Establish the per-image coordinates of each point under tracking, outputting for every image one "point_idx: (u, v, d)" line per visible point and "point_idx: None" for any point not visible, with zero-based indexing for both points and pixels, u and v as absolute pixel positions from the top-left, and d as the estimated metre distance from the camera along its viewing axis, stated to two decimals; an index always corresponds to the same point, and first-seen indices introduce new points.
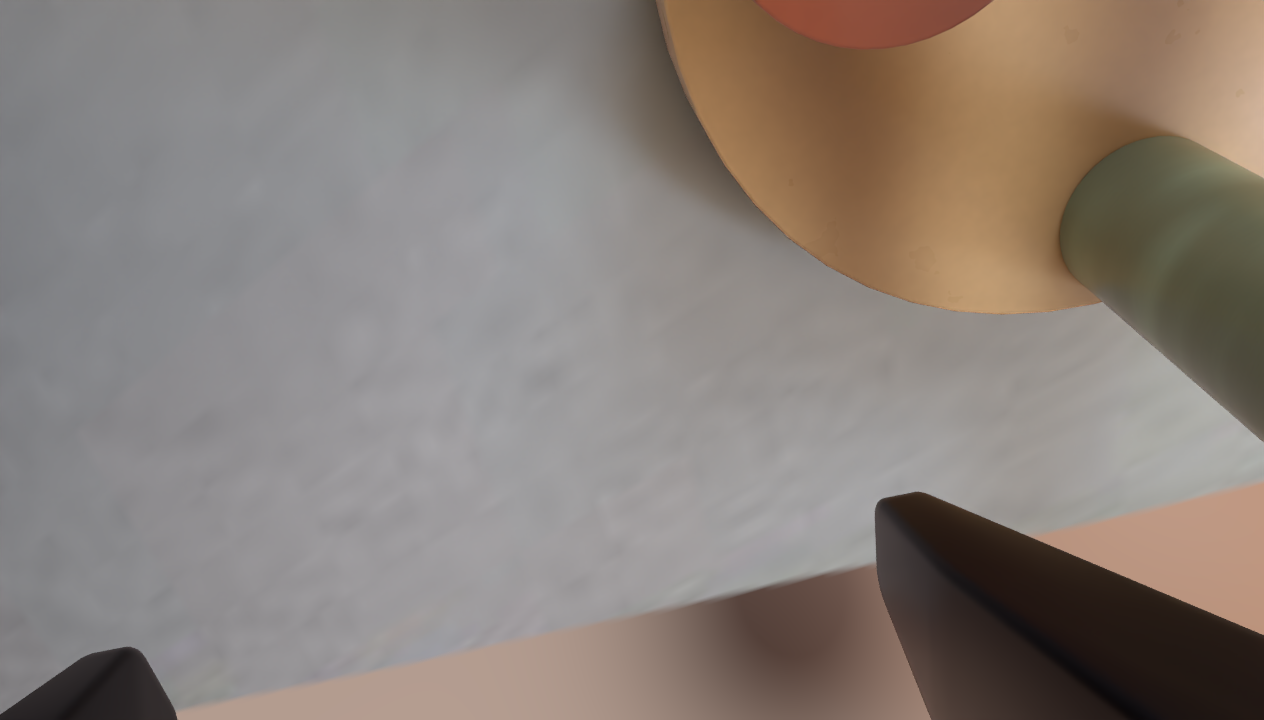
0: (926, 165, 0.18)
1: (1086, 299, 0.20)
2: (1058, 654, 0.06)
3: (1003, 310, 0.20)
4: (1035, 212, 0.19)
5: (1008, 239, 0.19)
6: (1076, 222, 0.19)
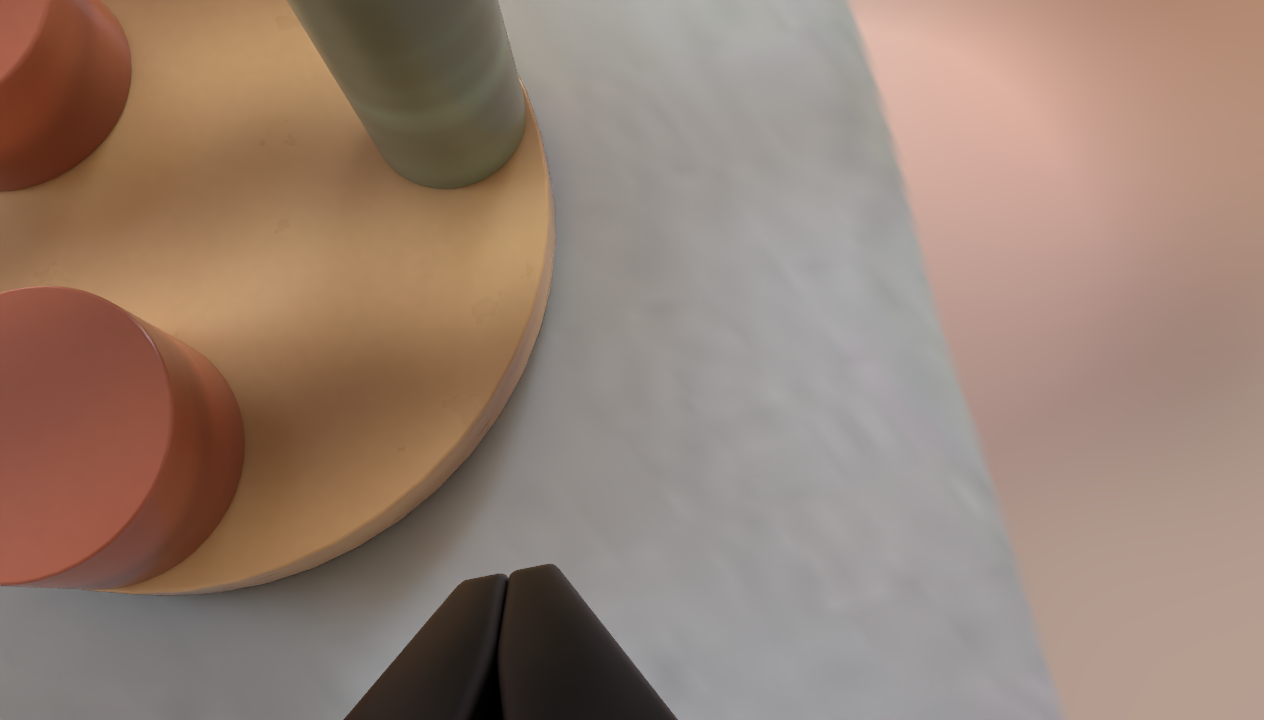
0: (391, 325, 0.20)
1: (534, 142, 0.21)
2: None
3: (543, 219, 0.21)
4: (441, 214, 0.21)
5: (467, 232, 0.20)
6: (436, 179, 0.20)
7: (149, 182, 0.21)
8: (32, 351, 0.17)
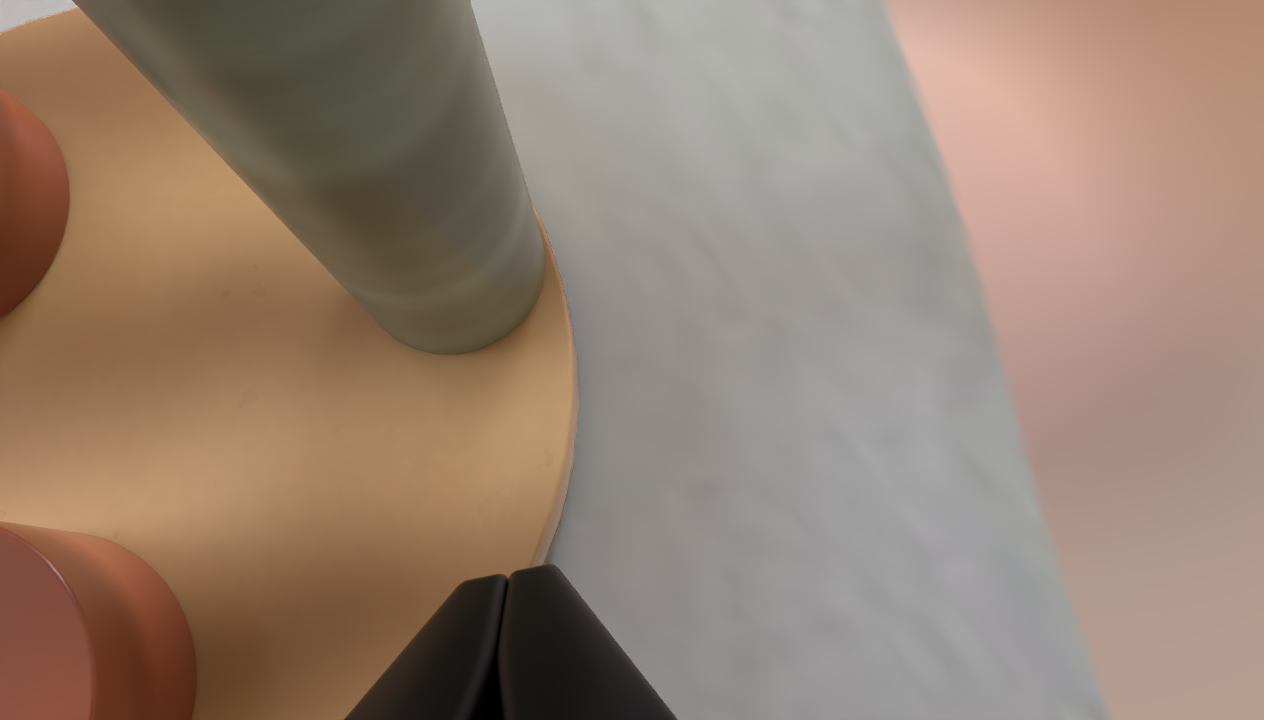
0: (379, 527, 0.16)
1: (555, 296, 0.17)
2: None
3: (566, 393, 0.17)
4: (442, 386, 0.17)
5: (473, 410, 0.17)
6: (436, 346, 0.17)
7: (87, 341, 0.17)
8: None
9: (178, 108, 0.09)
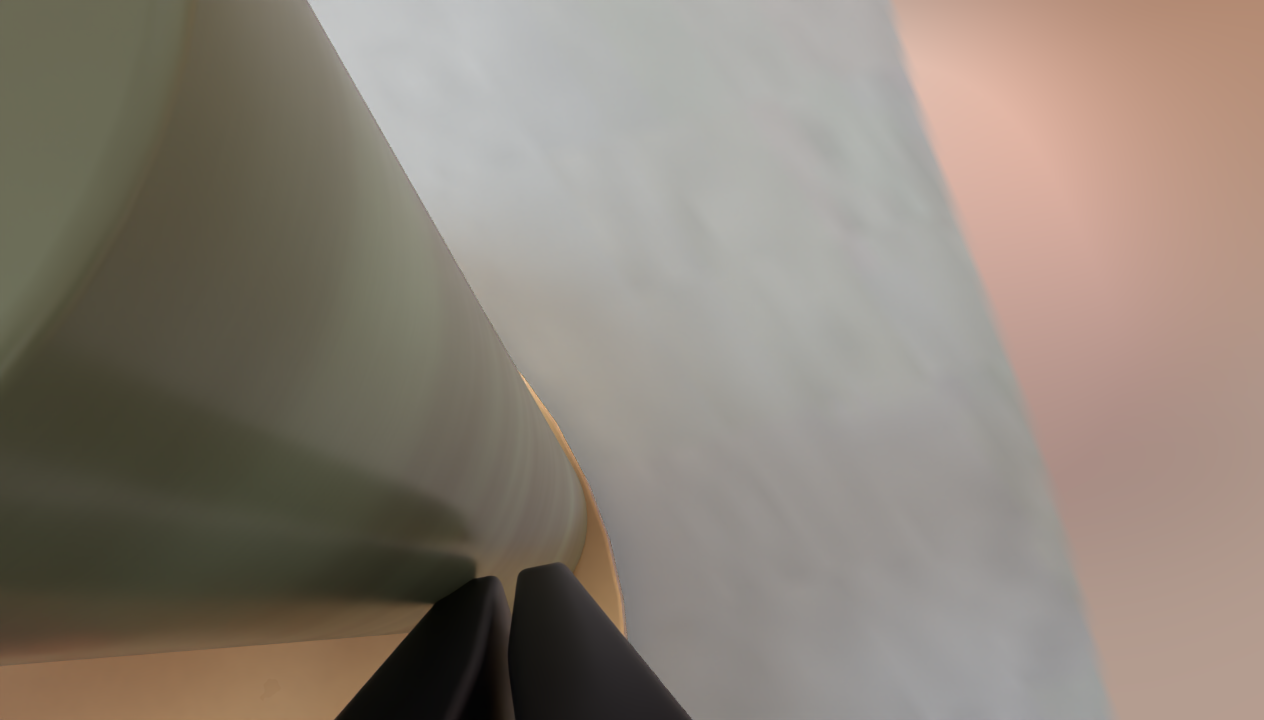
0: None
1: (600, 550, 0.16)
2: None
3: None
4: None
5: None
6: None
7: None
8: None
9: None
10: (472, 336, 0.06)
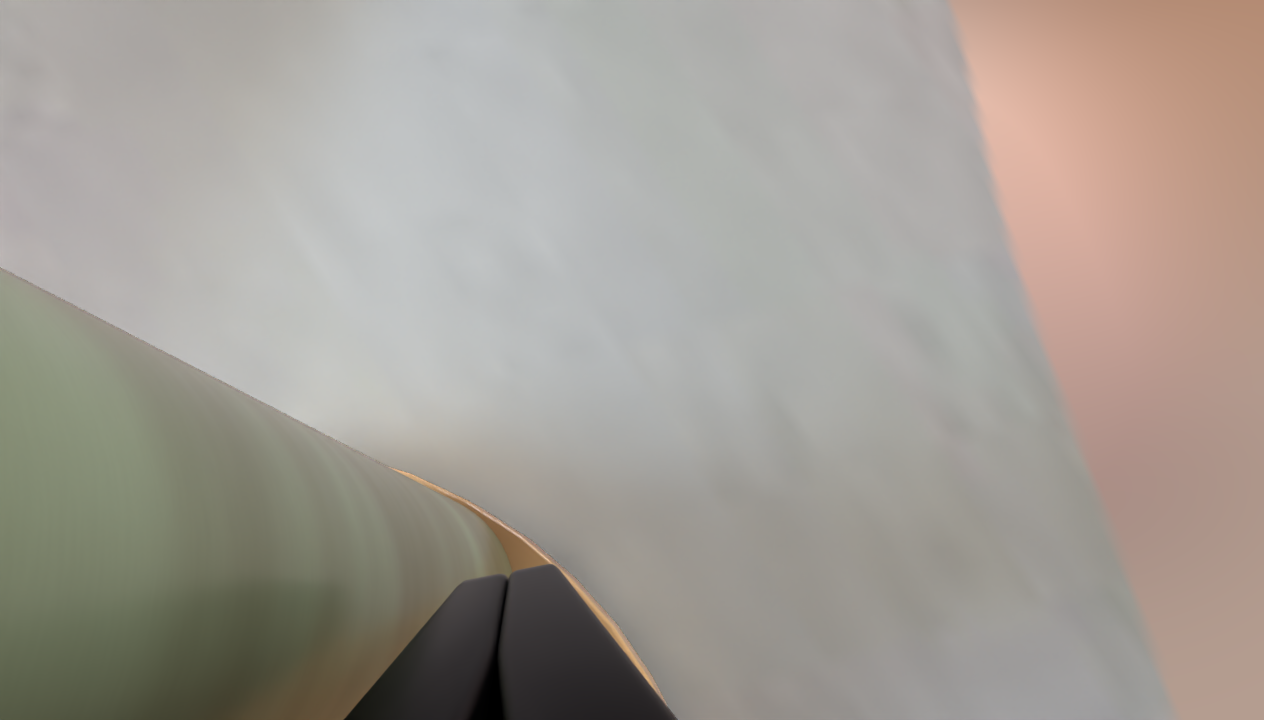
0: None
1: (524, 551, 0.15)
2: None
3: (607, 629, 0.15)
4: None
5: None
6: None
7: None
8: None
9: None
10: (185, 382, 0.06)
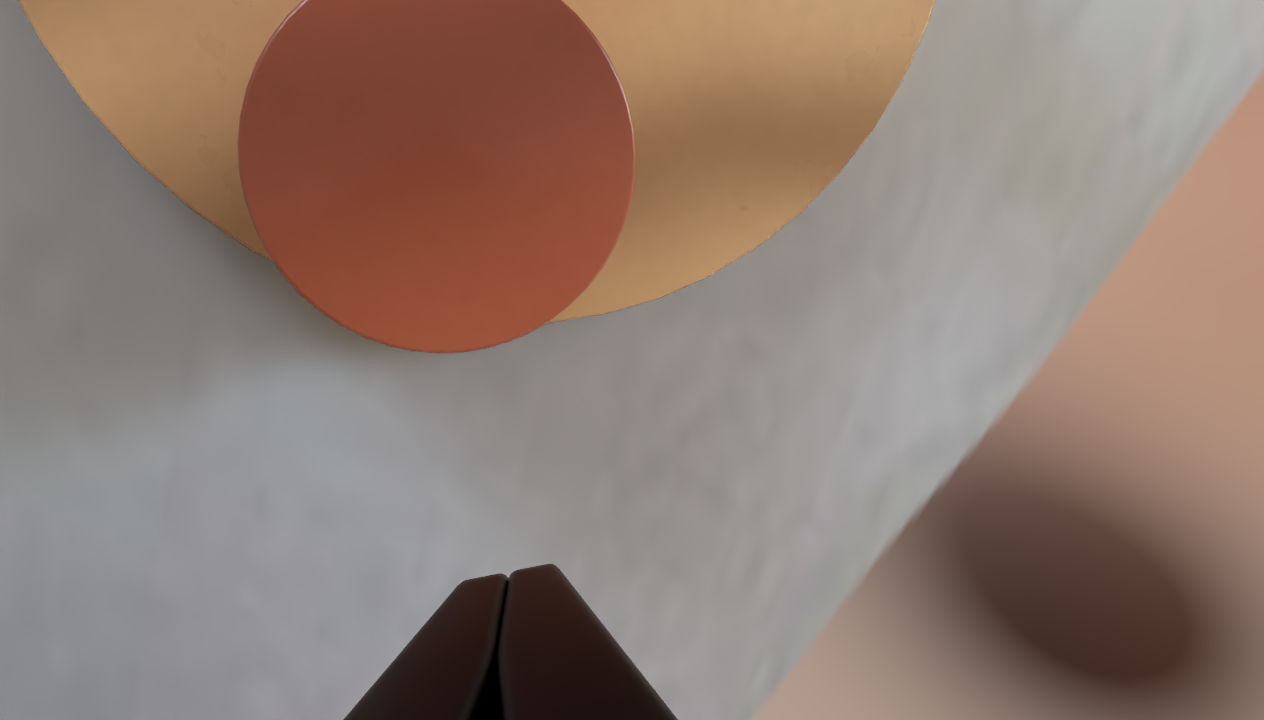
0: (759, 57, 0.17)
1: None
2: None
3: None
4: None
5: None
6: None
7: None
8: (465, 55, 0.13)
9: None
10: None
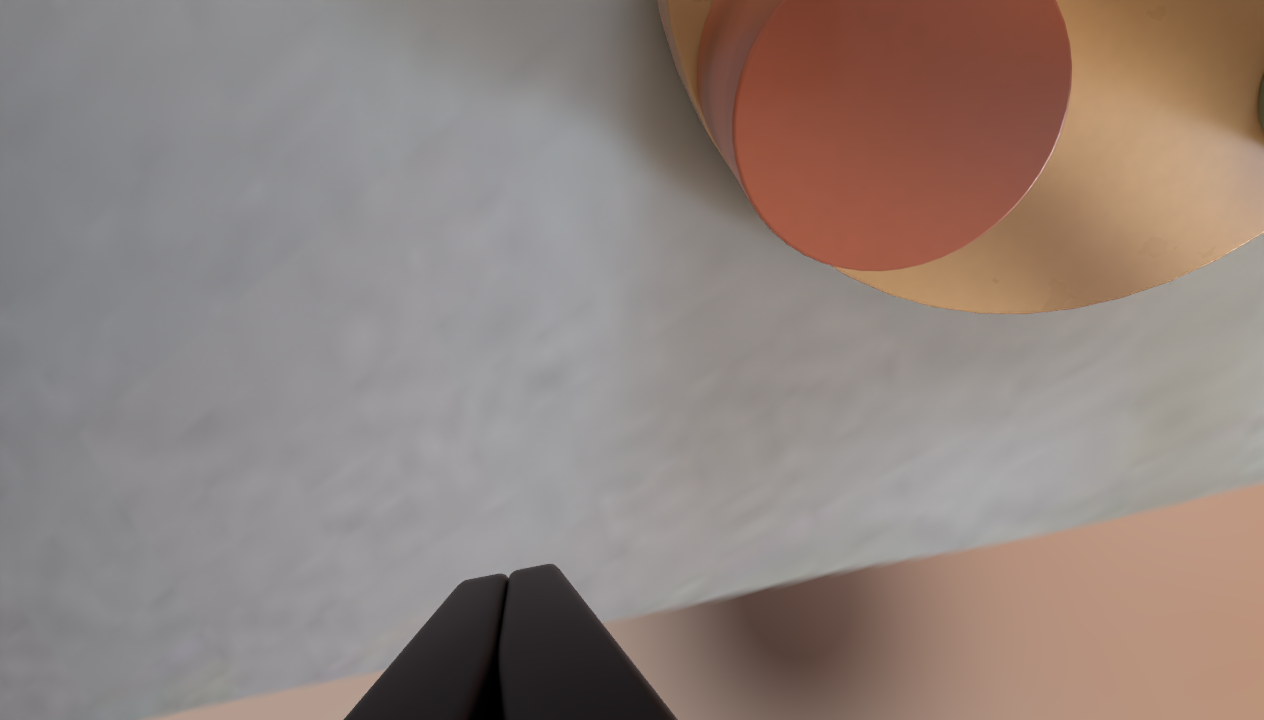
0: (1102, 189, 0.19)
1: None
2: None
3: (1263, 229, 0.20)
4: (1233, 146, 0.19)
5: (1223, 181, 0.19)
6: None
7: None
8: (982, 52, 0.14)
9: None
10: None
